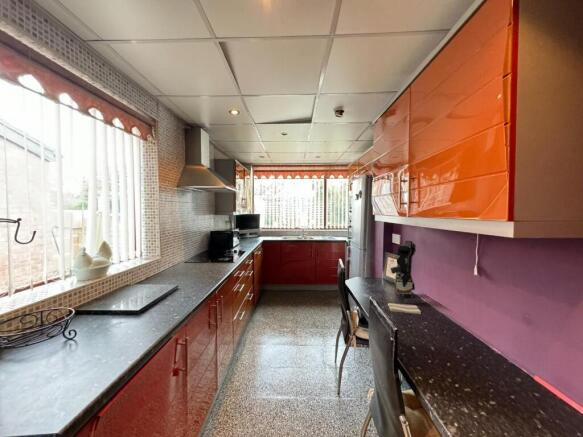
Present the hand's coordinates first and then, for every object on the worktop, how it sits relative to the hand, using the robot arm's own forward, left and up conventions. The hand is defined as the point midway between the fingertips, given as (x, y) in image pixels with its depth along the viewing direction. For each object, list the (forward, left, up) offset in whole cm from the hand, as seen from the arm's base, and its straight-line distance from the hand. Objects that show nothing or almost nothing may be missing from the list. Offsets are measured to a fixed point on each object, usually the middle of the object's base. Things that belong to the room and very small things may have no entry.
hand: (403, 285), depth 182 cm
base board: (+9, -1, -13) cm, 16 cm away
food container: (-1, 0, -5) cm, 5 cm away
